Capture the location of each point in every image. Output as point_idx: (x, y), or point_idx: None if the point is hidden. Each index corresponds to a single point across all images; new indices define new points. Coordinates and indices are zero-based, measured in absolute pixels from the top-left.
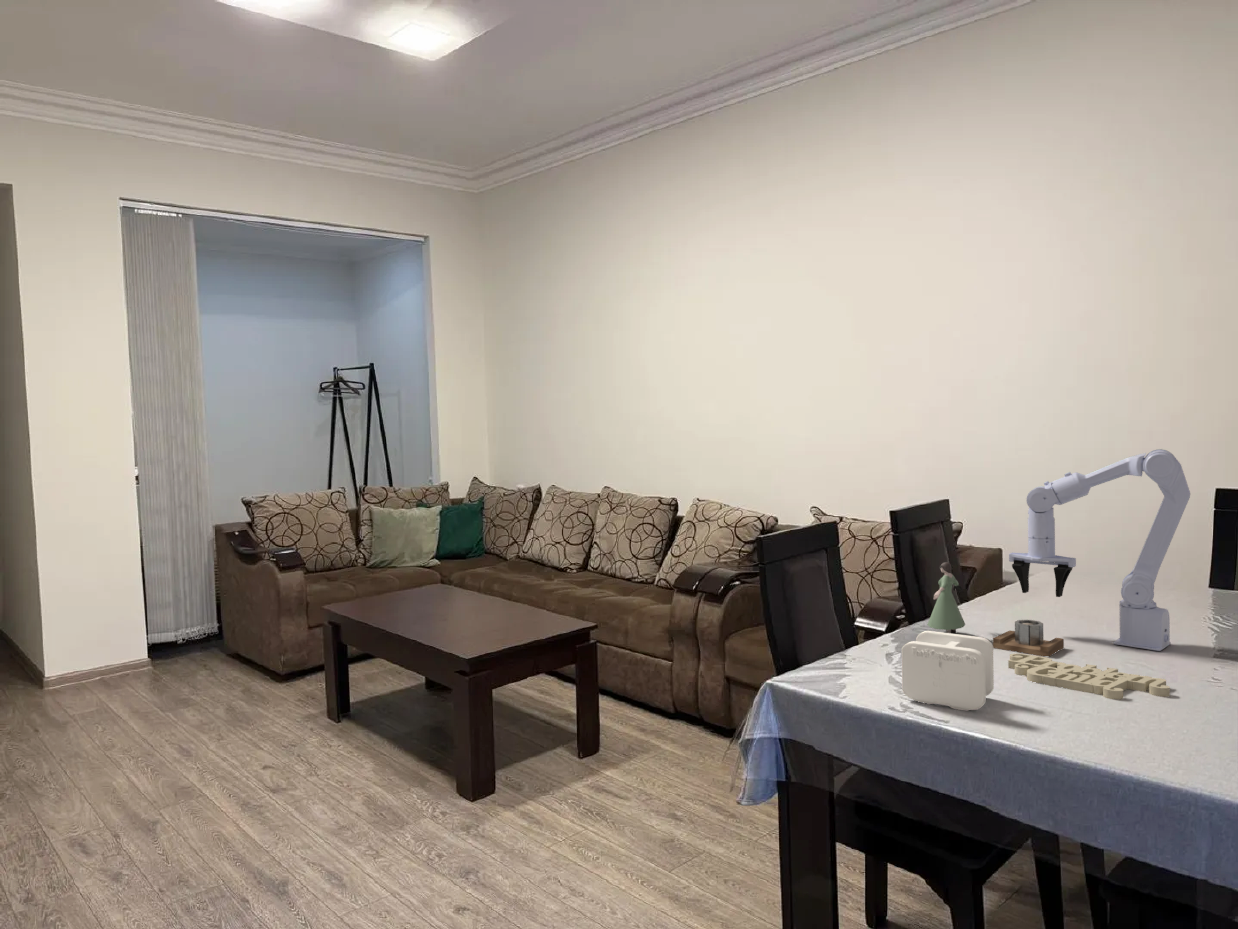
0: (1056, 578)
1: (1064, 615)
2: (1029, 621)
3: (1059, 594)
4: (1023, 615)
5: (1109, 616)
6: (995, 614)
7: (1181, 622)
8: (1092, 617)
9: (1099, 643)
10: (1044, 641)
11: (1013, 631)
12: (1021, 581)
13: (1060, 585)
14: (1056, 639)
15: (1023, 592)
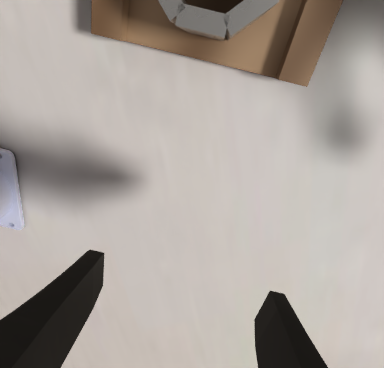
0: (7, 358)
1: (184, 348)
2: (221, 15)
3: (79, 261)
4: None
5: (110, 355)
6: (328, 331)
7: None
8: (134, 345)
9: (48, 153)
10: (165, 25)
11: (291, 72)
12: (312, 362)
13: (27, 302)
14: (110, 2)
15: (280, 294)
